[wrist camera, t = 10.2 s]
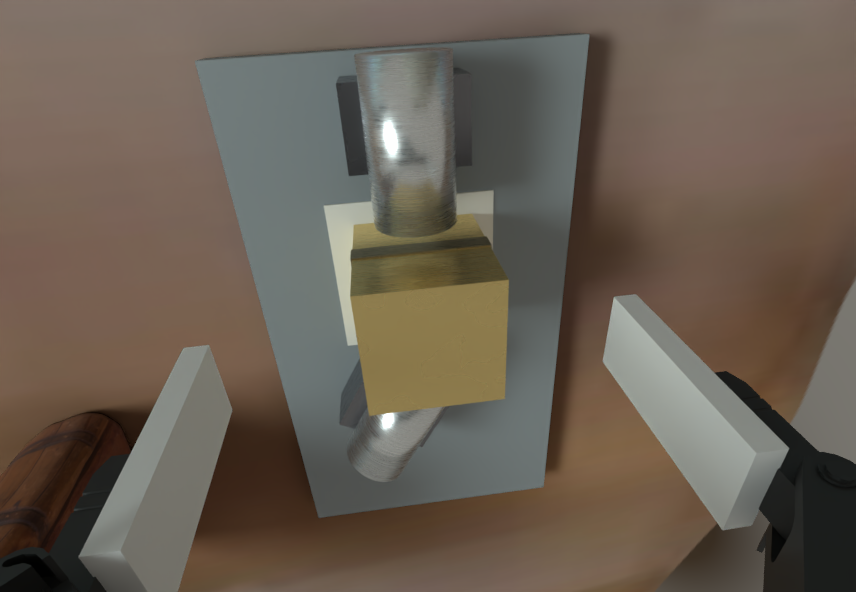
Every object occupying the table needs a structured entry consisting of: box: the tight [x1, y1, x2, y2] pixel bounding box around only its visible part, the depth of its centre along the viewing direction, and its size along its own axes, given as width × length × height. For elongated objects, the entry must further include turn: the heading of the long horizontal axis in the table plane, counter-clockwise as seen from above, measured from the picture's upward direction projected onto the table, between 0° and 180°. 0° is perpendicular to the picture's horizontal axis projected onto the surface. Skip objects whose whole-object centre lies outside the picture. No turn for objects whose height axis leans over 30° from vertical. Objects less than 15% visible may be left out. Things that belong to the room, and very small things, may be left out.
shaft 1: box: [336, 47, 472, 238], centre depth 17 cm, size 6×4×4 cm
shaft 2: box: [339, 358, 449, 482], centre depth 23 cm, size 6×4×4 cm
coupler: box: [350, 214, 509, 416], centre depth 19 cm, size 5×5×6 cm
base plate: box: [195, 33, 589, 518], centre depth 24 cm, size 25×14×1 cm, turn 3°
